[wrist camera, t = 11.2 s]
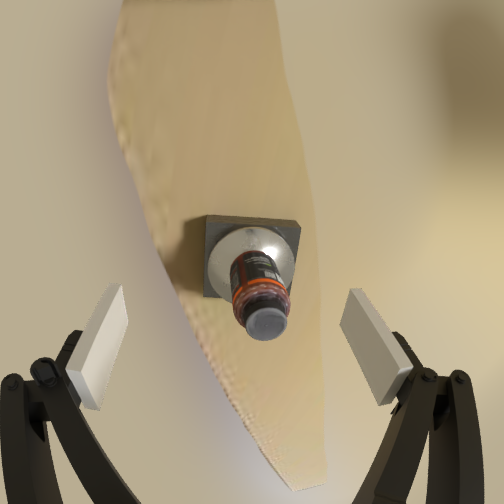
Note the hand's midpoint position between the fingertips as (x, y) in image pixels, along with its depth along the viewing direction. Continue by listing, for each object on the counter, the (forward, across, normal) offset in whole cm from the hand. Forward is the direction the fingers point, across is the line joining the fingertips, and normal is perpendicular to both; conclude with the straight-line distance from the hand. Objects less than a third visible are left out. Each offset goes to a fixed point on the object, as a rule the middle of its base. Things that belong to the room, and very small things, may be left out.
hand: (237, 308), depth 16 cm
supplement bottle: (+19, +3, -8) cm, 21 cm away
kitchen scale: (+24, +3, -8) cm, 26 cm away
